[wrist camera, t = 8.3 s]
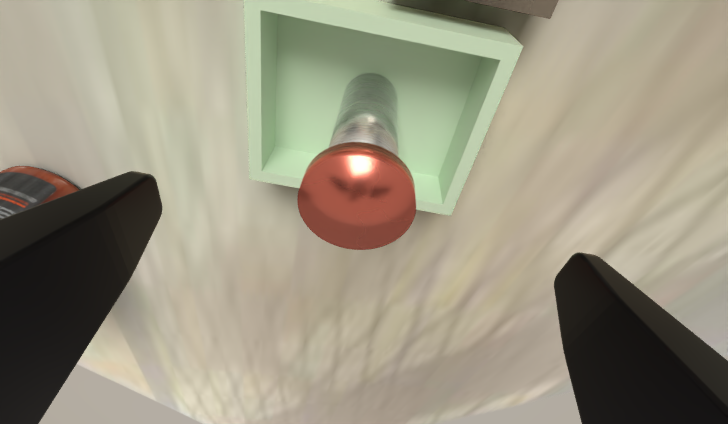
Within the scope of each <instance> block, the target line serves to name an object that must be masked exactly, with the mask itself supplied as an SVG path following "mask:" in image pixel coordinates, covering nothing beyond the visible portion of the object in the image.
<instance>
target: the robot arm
mask: <svg viewBox="0 0 728 424" xmlns="http://www.w3.org/2000/svg"><path fill="white" fill-rule="evenodd" d="M161 214H162V203H161V199H160V195H159V190H158V186H157V182H156V179H155V178H154V177H153V176H152V175H150V174H146V173H140V172H134V171H131V172H127V173H124V174H122V175H119V176H116V177H114V178H111V179H108V180H106V181H103V182H100V183H97V184H95V185H92V186H89V187H87V188H84V189H81V190H78V191H76V192H73V193H70V194H68V195H65V196H62V197H59V198H57V199H54V200H51V201H49V202H46V203H43V204H40V205H38V206H35V207H32V208H30V209H27V210H24V211H22V212H19V213H16V214H13V215H11V216H8V217H5V218H3V219H0V424H38V423H39V422H40V420H41V419H42V417H43V416H44V414H45V412H46V411H47V409H48V408H49V406H50V405H51V403H52V401H53V400H54V398H55V397H56V395H57V394H58V392H59V390H60V389H61V387H62V386H63V384H64V383H65V381H66V379H67V378H68V376H69V375H70V373H71V372H72V370H73V368H74V367H75V365H76V364H77V362H78V361H79V359H80V357H81V356H82V354H83V353H84V351H85V350H86V348H87V346H88V345H89V343H90V342H91V340H92V338H93V337H94V335H95V334H96V332H97V331H98V329H99V327H100V326H101V324H102V323H103V321H104V320H105V318H106V316H107V315H108V313H109V312H110V310H111V309H112V307H113V305H114V304H115V302H116V301H117V299H118V298H119V296H120V294H121V293H122V291H123V290H124V288H125V286H126V285H127V283H128V281H129V280H130V278H131V276H132V274H133V272H134V271H135V269H136V267H137V265H138V263H139V260H140V258H141V256H142V254H143V252H144V250H145V248H146V246H147V244H148V242H149V240H150V238H151V236H152V234H153V231H154V229H155V227H156V225H157V223H158V221H159V219H160V217H161ZM554 289H555V296H556V303H557V310H558V317H559V324H560V331H561V338H562V344H563V350H564V354H565V359H566V363H567V367H568V371H569V375H570V379H571V383H572V387H573V390H574V394H575V398H576V402H577V406H578V410H579V414H580V418H581V422H582V424H728V361H727V360H726V359H725V358H724V357H722V356H721V355H720V354H719V353H717V352H716V351H715V350H714V349H712V348H711V347H710V346H709V345H707V344H706V343H705V342H704V341H703V340H701V339H700V338H699V337H698V336H696V335H695V334H694V333H693V332H691V331H690V330H689V329H688V328H686V327H685V326H684V325H683V324H681V323H680V322H679V321H678V320H676V319H675V318H674V317H673V316H672V315H670V314H669V313H668V312H667V311H665V310H664V309H663V308H662V307H660V306H659V305H658V304H657V303H655V302H654V301H653V300H652V299H650V298H649V297H648V296H647V295H646V294H644V293H643V292H642V291H641V290H639V289H638V288H637V287H636V286H634V285H633V284H632V283H631V282H629V281H628V280H627V279H626V278H624V277H623V276H622V275H621V274H619V273H618V272H617V271H616V270H615V269H613V268H612V267H611V266H610V265H608V264H607V263H606V262H605V261H603V260H602V259H601V258H600V257H598V256H596V255H592V254H586V253H576V254H574V255H573V256H572V257H571V258H570V259H569V260H568V262H567V263H566V264H565V265H564V267H563V268H562V269H561V270H560V272H559V273H558V274H557V276H556V278H555V282H554Z"/></svg>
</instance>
